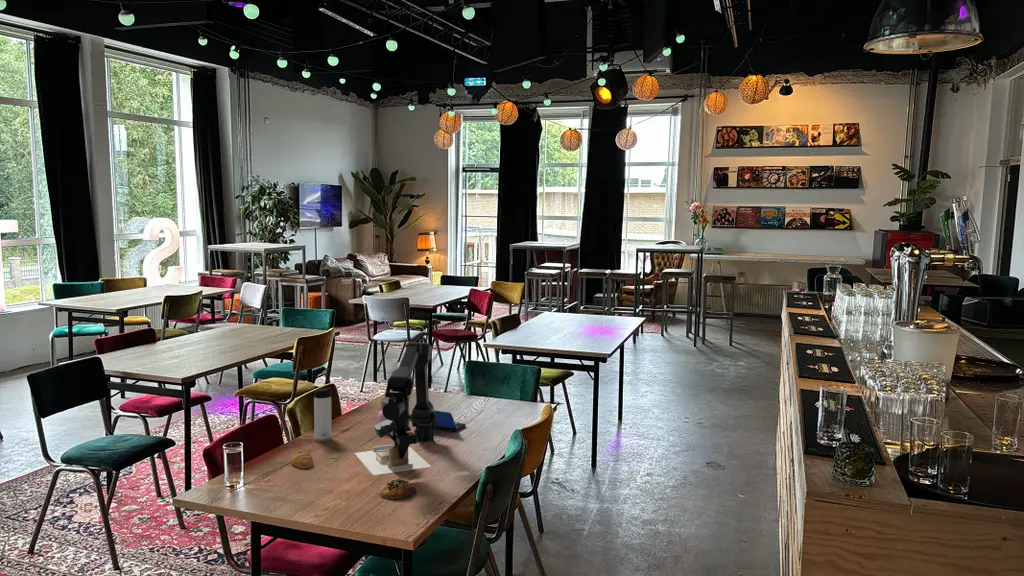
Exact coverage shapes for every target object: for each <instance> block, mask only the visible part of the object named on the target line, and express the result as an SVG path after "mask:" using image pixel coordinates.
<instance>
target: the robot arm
mask: <svg viewBox="0 0 1024 576" xmlns="http://www.w3.org/2000/svg"><path fill="white" fill-rule="evenodd" d="M432 355H433V346H432V345H431V344H430V342H418V341H417V342H416V341H415V342H414V341H409V342H406V345H405V350H404V353H403V356H402V359H401V361H400V364H399V366H398V368H397V369H395V370H393V371H392V373H391V375H390V376H389V377H388V379H387V384H386V389H385V394H384V398H385V397H389V399H388V403H387V404H385V405H384V407H383V409H382V413H383V416H384V417H385V418H386V419H388V420H385V421H383V422H381V423H380V422H378V423H377V424H375V425H374V426H373V429H374V431H375V434H376V436H378V438H381V439H382V438H384V437H385V436H387V437H389V438H390V439H391V440H392V441H393V445H394V446H398V453H399V458H400V459H403V457H404V455H405V453H406V451H407V449H408V447H410V445H414V444H418V443H419V442H421V443H423V442H425V443H427V442H431V441H432V442H433V443H434V444H435V443H436V441H435V440H434V439H435V437H434V436H435V434H434V433H435V431H434V430H435V429H434V427H437V417H436V414H435V412H434V411H435V410H434V405H433V404H432V403H431V401H430V399H429V379H428V364H429V362H430V360H431V358H432ZM413 371H414V380H415V382H414V380H413V377H412V374H413ZM414 384H415V399H416V401H415V402H416V403H415V405H414V407H413V408H412V410H411V411H412V412H411V415H410V396H412V394H413V389H414ZM410 420H411V427H410ZM412 427H413V428H415V429H414V431H413V432H412ZM389 433H390V434H389Z"/></svg>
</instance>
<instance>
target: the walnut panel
mask: <svg viewBox="0 0 1024 576" xmlns="http://www.w3.org/2000/svg"><path fill="white" fill-rule="evenodd" d="M406 464H408V449H407V451H406V453H405V455H404V457H403V459H400V458H399V453H398V446H395V445H394V446H393V445H392V447H389V468H390V469H391V467H393V466H400V465H406Z"/></svg>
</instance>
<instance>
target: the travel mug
mask: <svg viewBox="0 0 1024 576" xmlns="http://www.w3.org/2000/svg"><path fill="white" fill-rule="evenodd" d="M332 389H333V388H332V387H320V388H319V387H318V388H316V390H314V392H313V395H314V396H313V409H314V410H313V414H314V415H313V416H314V417H313V422H314V430H313V432H314V433H313V434H314V435H313V436H314V441H315V442H318V443H319V442H320V443H326V442H329V441H331V440H332ZM325 441H326V442H325Z"/></svg>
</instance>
